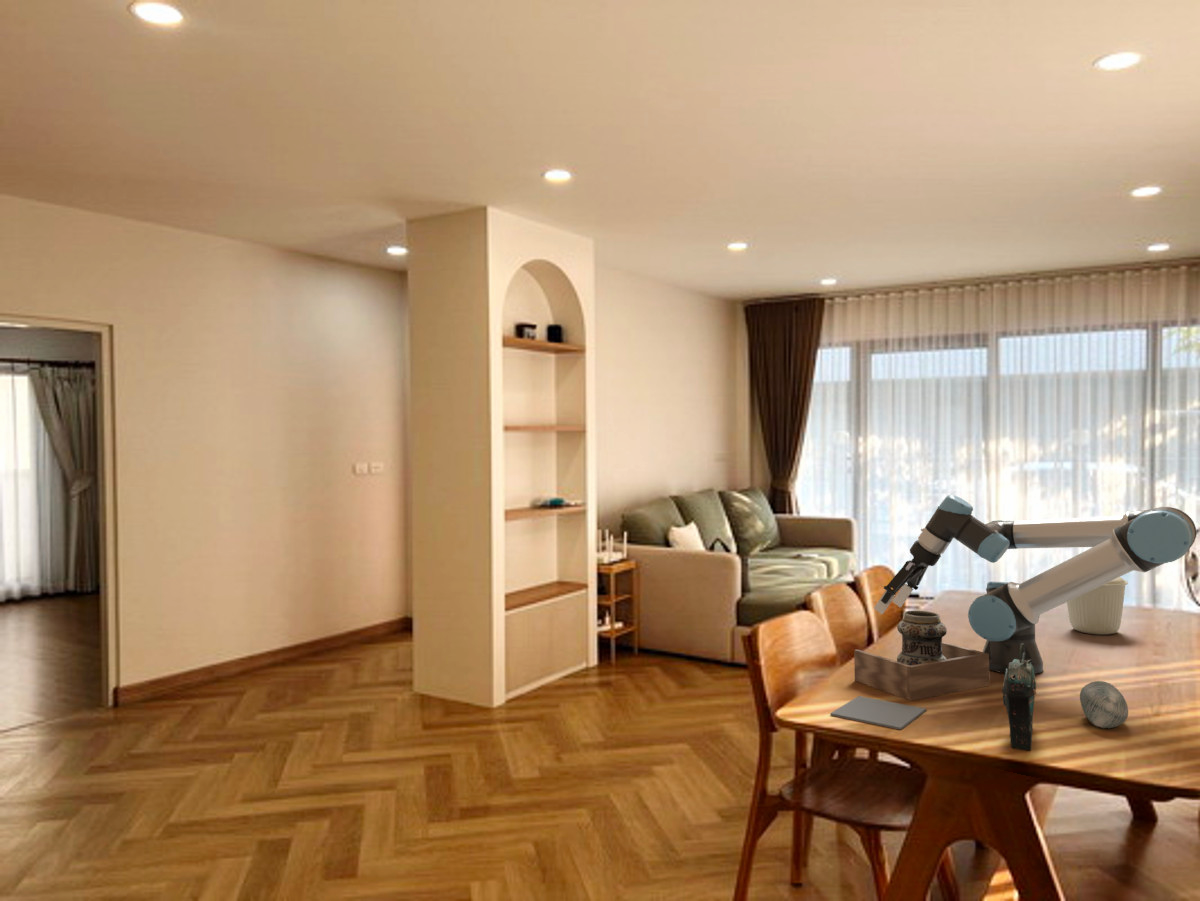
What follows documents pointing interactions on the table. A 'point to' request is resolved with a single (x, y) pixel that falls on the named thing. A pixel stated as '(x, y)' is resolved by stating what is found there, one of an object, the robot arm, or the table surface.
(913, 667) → the walnut u-shaped frame
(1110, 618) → the canister
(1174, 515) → the robot arm
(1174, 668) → the table surface
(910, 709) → the rubber mat
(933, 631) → the apothecary jar
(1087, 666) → the table surface
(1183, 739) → the table surface
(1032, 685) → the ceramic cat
